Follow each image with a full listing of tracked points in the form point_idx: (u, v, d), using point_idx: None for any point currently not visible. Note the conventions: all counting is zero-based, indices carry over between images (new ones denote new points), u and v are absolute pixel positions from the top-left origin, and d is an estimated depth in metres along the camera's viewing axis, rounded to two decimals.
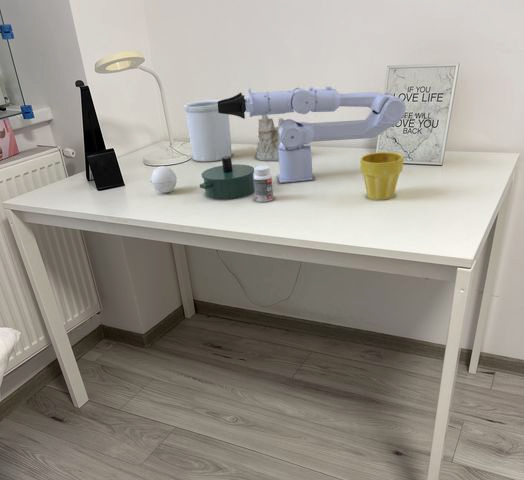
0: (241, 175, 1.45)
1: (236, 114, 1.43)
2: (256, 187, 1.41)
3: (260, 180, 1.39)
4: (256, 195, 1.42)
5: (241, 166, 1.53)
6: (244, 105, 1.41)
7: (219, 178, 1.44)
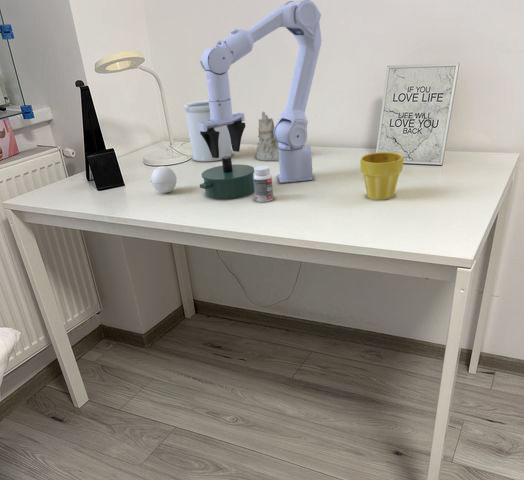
0: (241, 175, 1.45)
1: (213, 140, 1.40)
2: (256, 187, 1.41)
3: (260, 180, 1.39)
4: (256, 195, 1.42)
5: (241, 166, 1.53)
6: (204, 131, 1.40)
7: (219, 178, 1.44)
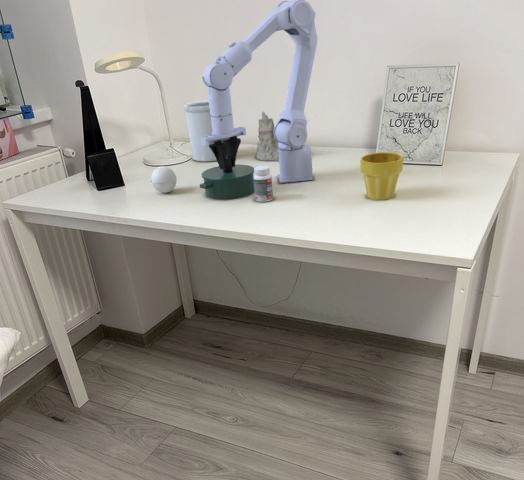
0: (241, 175, 1.45)
1: (221, 153, 1.44)
2: (256, 187, 1.41)
3: (260, 180, 1.39)
4: (256, 195, 1.42)
5: (241, 166, 1.53)
6: (212, 144, 1.43)
7: (219, 178, 1.44)
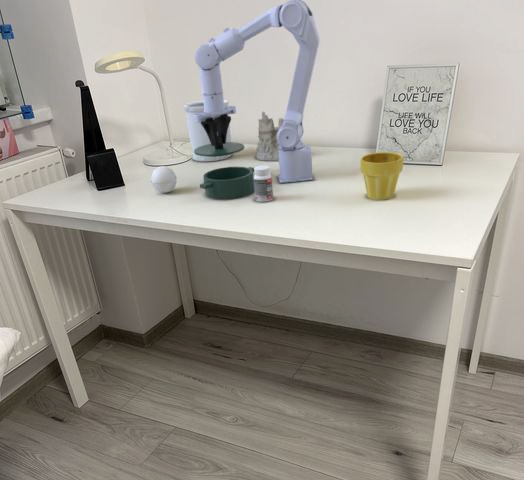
0: (231, 151, 1.53)
1: (212, 129, 1.52)
2: (256, 187, 1.41)
3: (260, 180, 1.39)
4: (256, 195, 1.42)
5: (231, 143, 1.61)
6: (204, 121, 1.52)
7: (210, 153, 1.53)
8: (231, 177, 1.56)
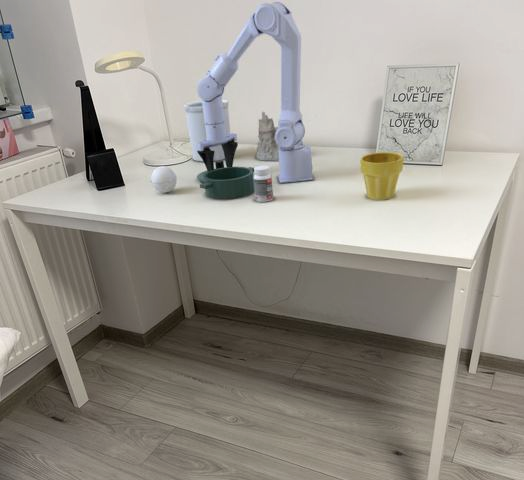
0: None
1: (208, 158, 1.58)
2: (256, 187, 1.41)
3: (260, 180, 1.39)
4: (256, 195, 1.42)
5: None
6: (200, 150, 1.58)
7: None
8: (231, 177, 1.56)
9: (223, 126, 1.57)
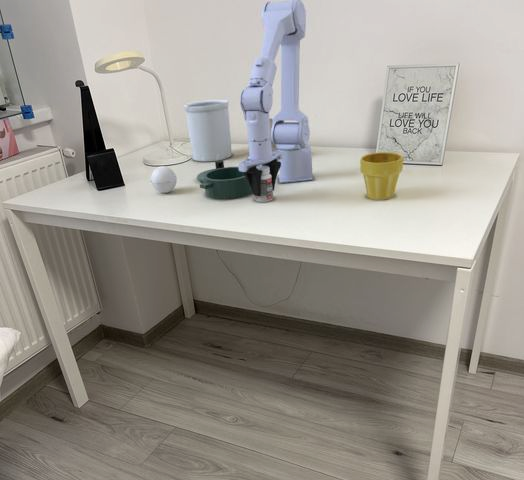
0: None
1: (255, 179, 1.37)
2: None
3: None
4: None
5: None
6: (246, 170, 1.37)
7: None
8: (231, 177, 1.56)
9: (269, 143, 1.35)
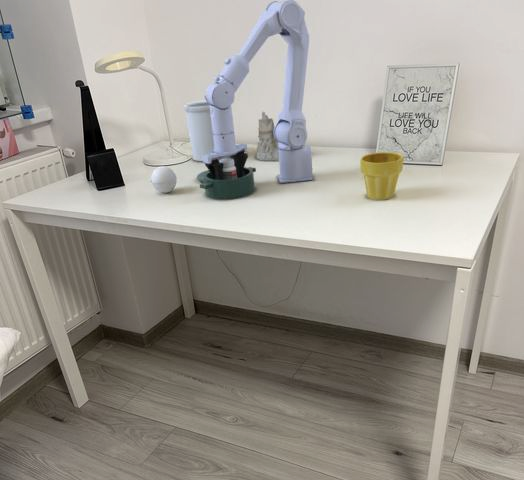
0: None
1: (217, 172, 1.45)
2: None
3: (225, 172, 1.47)
4: None
5: None
6: None
7: None
8: None
9: (233, 136, 1.43)
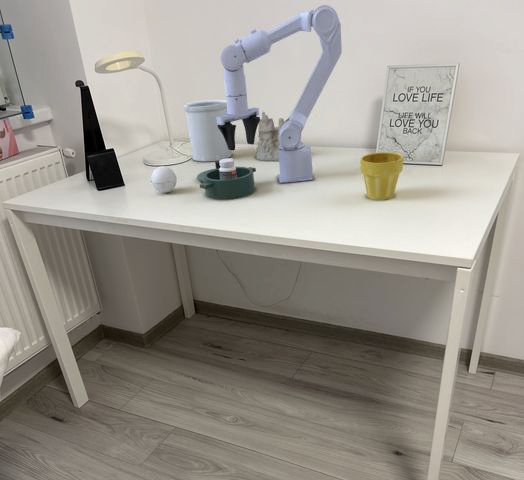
0: None
1: (229, 133, 1.48)
2: (221, 179, 1.49)
3: (225, 172, 1.47)
4: None
5: None
6: (221, 125, 1.48)
7: None
8: None
9: (245, 98, 1.47)
